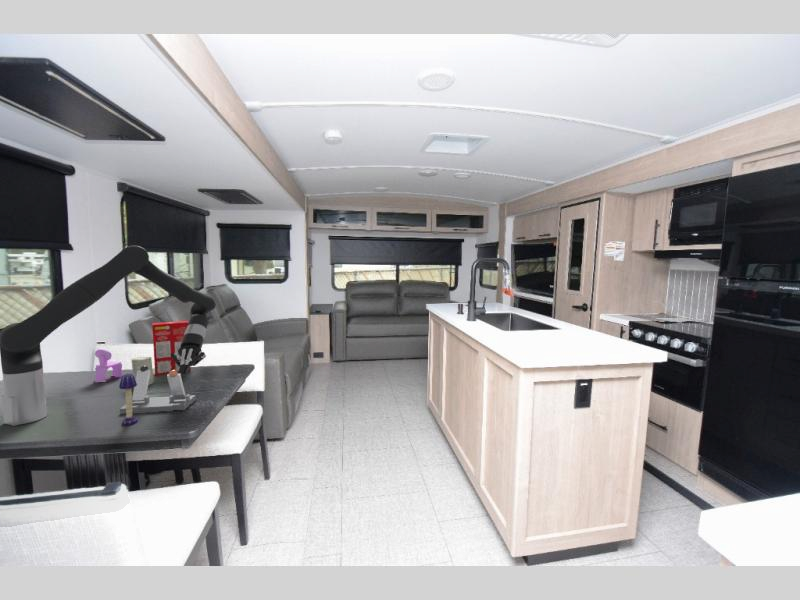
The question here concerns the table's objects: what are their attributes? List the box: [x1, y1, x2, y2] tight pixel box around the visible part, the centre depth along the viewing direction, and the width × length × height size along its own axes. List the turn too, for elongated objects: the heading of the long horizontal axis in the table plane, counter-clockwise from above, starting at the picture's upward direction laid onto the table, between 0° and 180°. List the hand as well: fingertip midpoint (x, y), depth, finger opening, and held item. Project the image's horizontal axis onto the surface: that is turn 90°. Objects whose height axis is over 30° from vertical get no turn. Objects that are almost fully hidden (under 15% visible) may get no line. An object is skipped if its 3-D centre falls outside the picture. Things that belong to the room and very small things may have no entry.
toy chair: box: [93, 348, 123, 383], centre depth 158 cm, size 8×9×15 cm
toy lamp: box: [118, 373, 139, 426], centre depth 114 cm, size 5×5×17 cm
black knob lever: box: [132, 366, 151, 402], centre depth 129 cm, size 3×4×13 cm, turn 100°
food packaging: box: [151, 320, 192, 377], centre depth 170 cm, size 15×5×25 cm, turn 126°
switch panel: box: [119, 393, 197, 415], centre depth 128 cm, size 10×21×4 cm, turn 100°
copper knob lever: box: [166, 370, 187, 400], centre depth 127 cm, size 3×4×13 cm, turn 100°
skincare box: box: [131, 356, 154, 386], centre depth 152 cm, size 6×4×12 cm
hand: (182, 375), depth 131 cm, fingers closed
